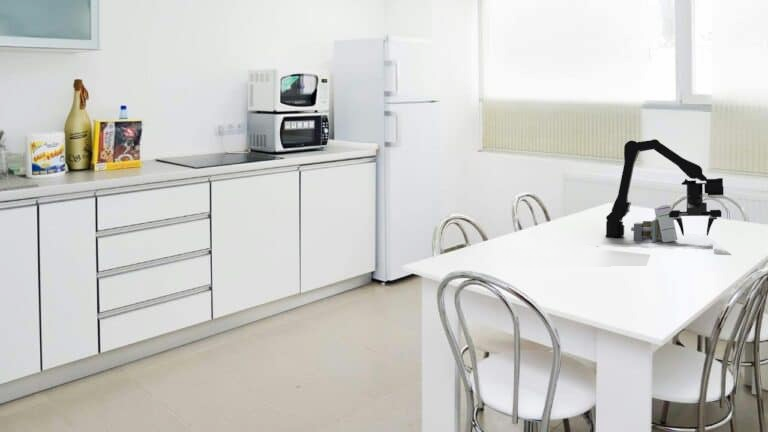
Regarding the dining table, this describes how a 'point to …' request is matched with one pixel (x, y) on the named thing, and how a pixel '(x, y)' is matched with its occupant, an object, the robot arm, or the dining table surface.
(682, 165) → the robot arm
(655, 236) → the gauge plunger
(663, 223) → the syrup box
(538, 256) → the dining table surface
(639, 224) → the gauge housing
